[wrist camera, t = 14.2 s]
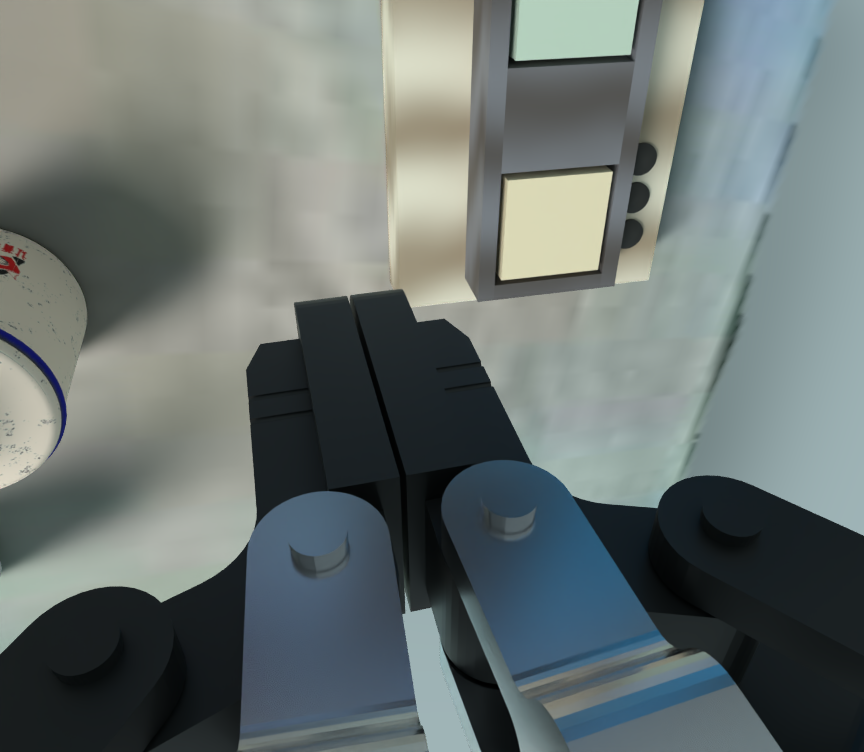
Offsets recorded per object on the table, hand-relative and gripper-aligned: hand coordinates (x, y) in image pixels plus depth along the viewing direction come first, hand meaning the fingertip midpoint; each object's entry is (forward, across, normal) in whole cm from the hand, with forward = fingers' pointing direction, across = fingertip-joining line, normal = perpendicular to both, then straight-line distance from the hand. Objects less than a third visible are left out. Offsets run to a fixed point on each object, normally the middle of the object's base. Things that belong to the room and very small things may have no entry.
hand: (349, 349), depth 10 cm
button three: (+23, -12, +10) cm, 28 cm away
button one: (+23, -12, 0) cm, 26 cm away
